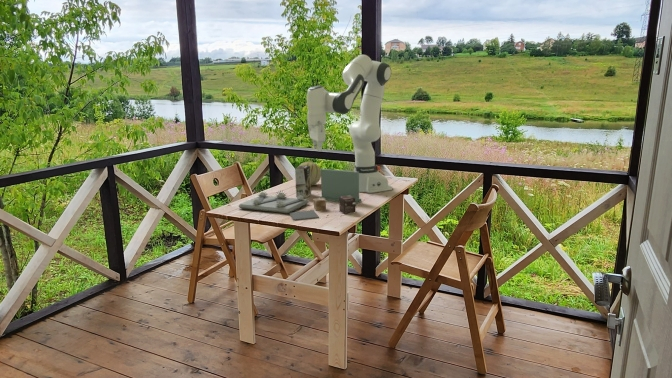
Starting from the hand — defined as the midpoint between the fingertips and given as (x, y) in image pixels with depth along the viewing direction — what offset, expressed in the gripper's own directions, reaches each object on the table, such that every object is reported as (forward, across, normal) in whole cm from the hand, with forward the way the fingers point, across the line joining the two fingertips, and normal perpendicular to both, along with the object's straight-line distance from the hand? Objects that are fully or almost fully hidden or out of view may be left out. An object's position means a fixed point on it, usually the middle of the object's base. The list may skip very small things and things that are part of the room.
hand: (317, 149), depth 233 cm
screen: (+30, +13, -14) cm, 35 cm away
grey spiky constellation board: (+30, +13, +21) cm, 39 cm away
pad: (+30, -9, +10) cm, 33 cm away
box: (+30, -10, -12) cm, 34 cm away
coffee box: (+30, +31, +2) cm, 43 cm away
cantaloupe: (+30, +54, -6) cm, 62 cm away
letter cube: (+30, 0, 0) cm, 30 cm away
